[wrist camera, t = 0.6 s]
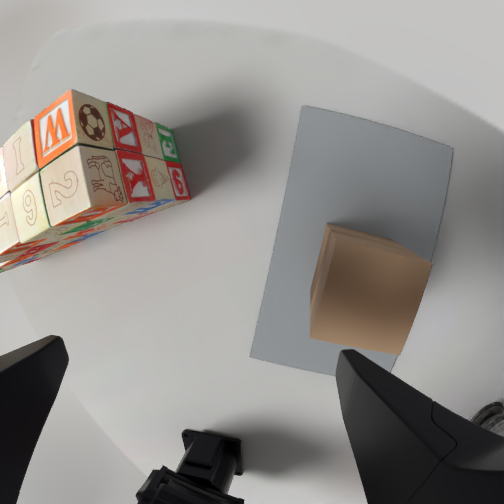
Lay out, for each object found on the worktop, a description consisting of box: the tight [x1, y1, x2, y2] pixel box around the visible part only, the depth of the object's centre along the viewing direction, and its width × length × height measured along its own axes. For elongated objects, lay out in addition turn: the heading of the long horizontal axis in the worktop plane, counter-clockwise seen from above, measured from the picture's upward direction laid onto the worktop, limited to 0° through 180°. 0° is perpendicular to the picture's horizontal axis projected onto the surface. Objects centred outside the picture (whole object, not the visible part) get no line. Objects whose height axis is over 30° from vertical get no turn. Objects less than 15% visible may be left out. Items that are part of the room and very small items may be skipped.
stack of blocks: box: [0, 89, 191, 273], centre depth 19 cm, size 21×6×12 cm, turn 107°
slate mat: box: [250, 106, 453, 376], centre depth 21 cm, size 20×12×1 cm, turn 169°
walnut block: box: [310, 223, 432, 355], centre depth 17 cm, size 5×5×8 cm
